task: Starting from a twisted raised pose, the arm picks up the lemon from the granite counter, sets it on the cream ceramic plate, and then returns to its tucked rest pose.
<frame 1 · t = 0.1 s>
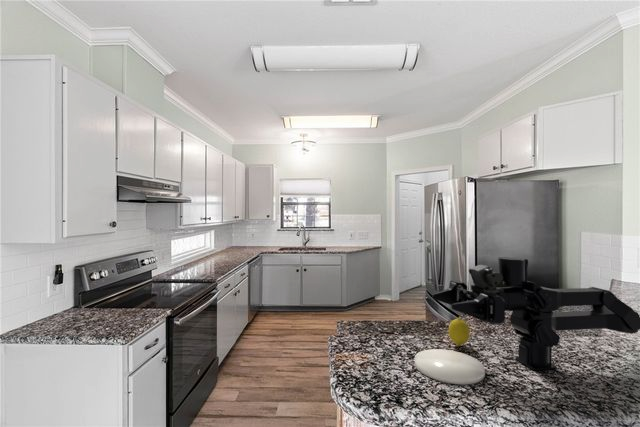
hand: (441, 301, 79), 17 cm above the counter, tool horizontal, fingers open, 9 cm apart
lemon: (458, 346, 94), on the counter
plate: (448, 367, 80), on the counter
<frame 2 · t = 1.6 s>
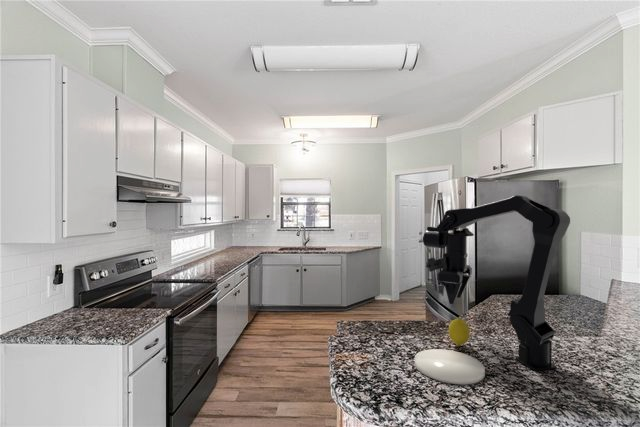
hand: (455, 300, 101), 11 cm above the counter, tool pointing down, fingers open, 9 cm apart
nothing on the counter moved.
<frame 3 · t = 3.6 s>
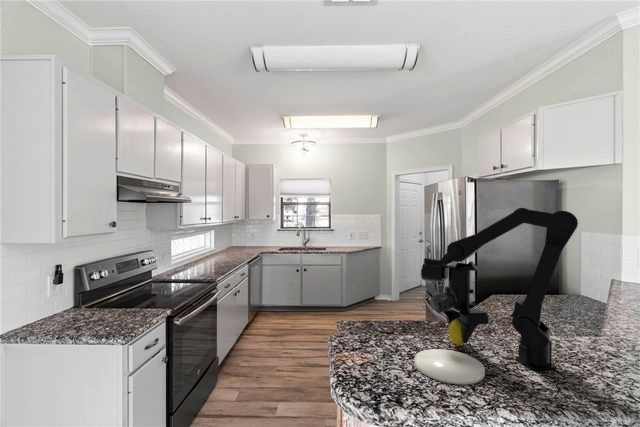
hand: (458, 338, 94), 2 cm above the counter, tool pointing down, fingers closed on lemon, 5 cm apart
lemon: (458, 346, 94), on the counter, touching gripper
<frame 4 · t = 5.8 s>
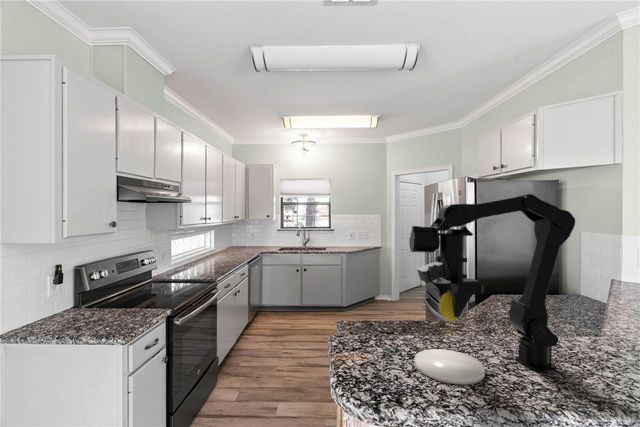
hand: (450, 313, 84), 12 cm above the counter, tool pointing down, fingers closed on lemon, 5 cm apart
lemon: (450, 322, 84), point 10 cm above the counter, touching gripper
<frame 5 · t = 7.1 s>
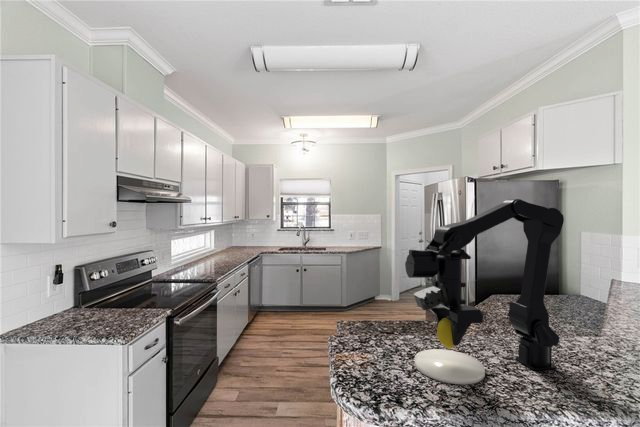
hand: (449, 340, 80), 7 cm above the counter, tool pointing down, fingers closed on lemon, 5 cm apart
lemon: (448, 349, 80), point 4 cm above the counter, touching gripper
when the fingers open (4 cm above the counter, at t = 8.0 s): lemon stays where it is, resting on plate.
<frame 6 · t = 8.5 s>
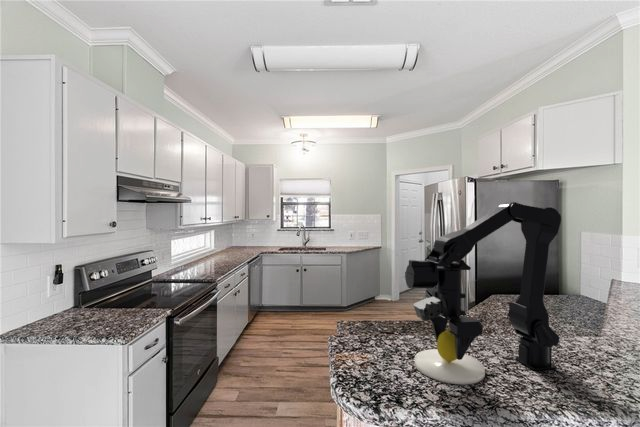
hand: (448, 351, 80), 4 cm above the counter, tool pointing down, fingers open, 9 cm apart
lemon: (448, 363, 80), point 1 cm above the counter, touching plate
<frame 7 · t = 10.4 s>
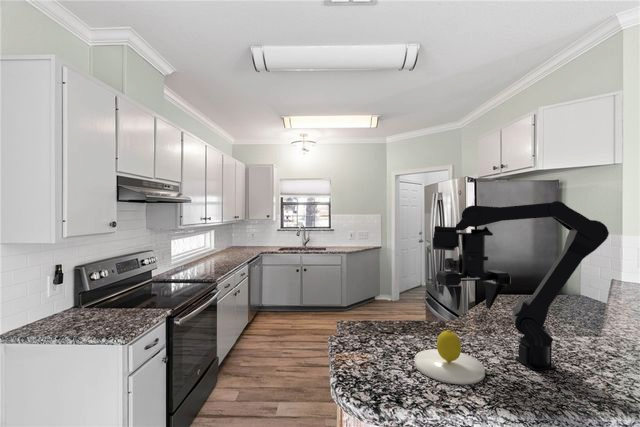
hand: (472, 309, 89), 12 cm above the counter, tool pointing down, fingers open, 9 cm apart
nothing on the counter moved.
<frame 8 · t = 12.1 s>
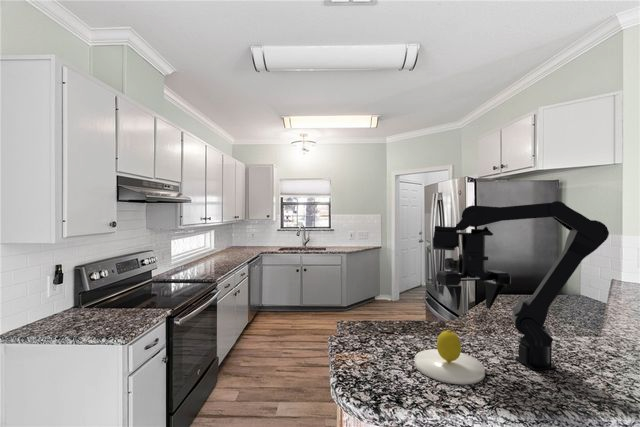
hand: (472, 309, 89), 12 cm above the counter, tool pointing down, fingers open, 9 cm apart
nothing on the counter moved.
at the end: lemon inside the target area on the plate (0.0 cm from its centre), point 1.0 cm above the plate's base; the gripper is holding nothing; lemon touching plate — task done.
